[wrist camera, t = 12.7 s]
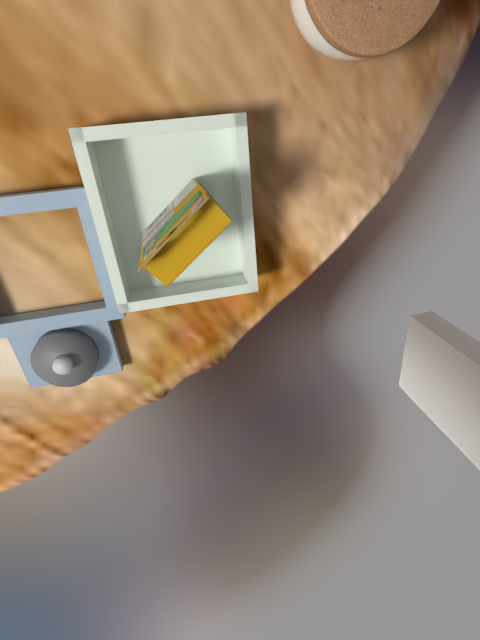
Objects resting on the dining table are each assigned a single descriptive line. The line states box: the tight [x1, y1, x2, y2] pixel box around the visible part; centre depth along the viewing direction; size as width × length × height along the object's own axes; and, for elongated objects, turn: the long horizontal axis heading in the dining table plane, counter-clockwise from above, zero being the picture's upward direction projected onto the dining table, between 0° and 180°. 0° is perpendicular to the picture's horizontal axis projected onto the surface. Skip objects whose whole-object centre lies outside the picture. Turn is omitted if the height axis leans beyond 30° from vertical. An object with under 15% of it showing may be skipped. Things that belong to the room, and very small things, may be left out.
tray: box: [68, 112, 258, 314], centre depth 34 cm, size 16×14×4 cm
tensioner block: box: [0, 186, 126, 388], centre depth 35 cm, size 20×14×4 cm
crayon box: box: [138, 178, 232, 286], centre depth 30 cm, size 7×3×12 cm, turn 133°
